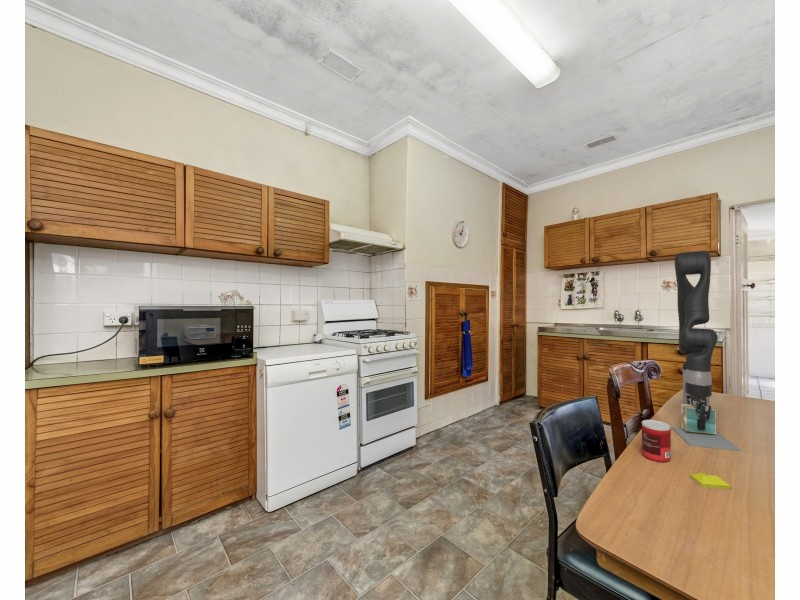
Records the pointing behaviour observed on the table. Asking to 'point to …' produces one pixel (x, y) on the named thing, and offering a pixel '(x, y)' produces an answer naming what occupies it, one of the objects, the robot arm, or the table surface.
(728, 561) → the table surface
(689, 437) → the mat
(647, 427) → the canned food
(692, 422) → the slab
